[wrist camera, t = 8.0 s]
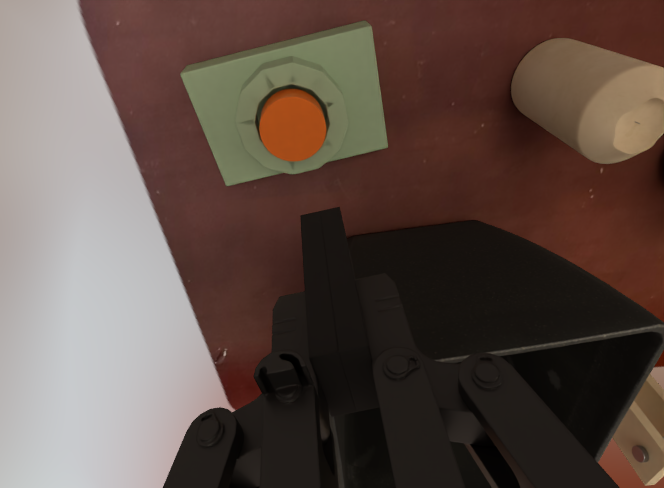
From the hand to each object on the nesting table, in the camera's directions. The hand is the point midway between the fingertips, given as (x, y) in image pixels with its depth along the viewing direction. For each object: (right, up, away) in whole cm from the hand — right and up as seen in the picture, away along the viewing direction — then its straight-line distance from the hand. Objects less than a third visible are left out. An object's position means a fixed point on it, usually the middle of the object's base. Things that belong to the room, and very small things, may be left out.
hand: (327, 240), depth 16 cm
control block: (-3, +10, +13) cm, 16 cm away
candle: (+16, +12, +14) cm, 24 cm away
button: (-2, +8, +10) cm, 13 cm away
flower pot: (+8, -3, +24) cm, 26 cm away
